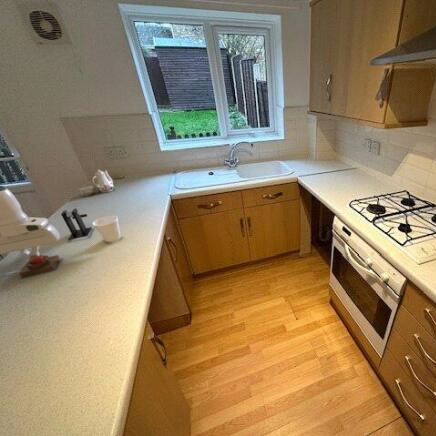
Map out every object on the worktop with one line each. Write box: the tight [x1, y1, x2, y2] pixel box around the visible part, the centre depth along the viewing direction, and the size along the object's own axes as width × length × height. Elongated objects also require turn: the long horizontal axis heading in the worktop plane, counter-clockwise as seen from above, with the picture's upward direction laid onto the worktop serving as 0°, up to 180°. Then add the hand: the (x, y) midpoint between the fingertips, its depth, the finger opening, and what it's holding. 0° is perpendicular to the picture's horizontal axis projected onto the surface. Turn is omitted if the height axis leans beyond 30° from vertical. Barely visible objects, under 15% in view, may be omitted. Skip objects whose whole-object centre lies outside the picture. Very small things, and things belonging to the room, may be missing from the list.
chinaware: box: [78, 169, 116, 197], centre depth 176 cm, size 28×17×17 cm, turn 178°
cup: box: [91, 215, 122, 243], centre depth 115 cm, size 10×10×11 cm
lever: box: [66, 210, 88, 220], centre depth 121 cm, size 12×6×2 cm
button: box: [28, 254, 44, 264], centre depth 98 cm, size 4×4×2 cm
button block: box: [18, 254, 60, 279], centre depth 99 cm, size 10×8×4 cm
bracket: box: [60, 208, 93, 241], centre depth 119 cm, size 10×8×14 cm
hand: (34, 256), depth 97 cm, fingers closed
